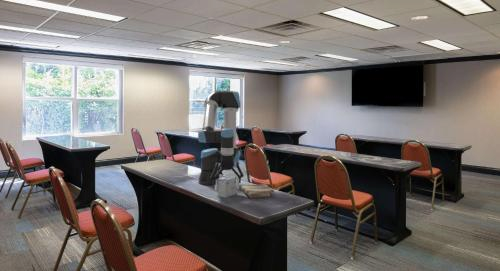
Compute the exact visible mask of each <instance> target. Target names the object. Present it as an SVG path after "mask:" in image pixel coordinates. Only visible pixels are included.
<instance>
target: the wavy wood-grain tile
mask: <svg viewBox="0 0 500 271" xmlns="http://www.w3.org/2000/svg"><path fill="white" fill-rule="evenodd" d="M240 188H241V190H243V191H244V193H245V194H246V195H247V196H248V197H249V198H250V199H253V198H255V199H257V198H267V197H271V193H275V189H273V188H272V187H270V186H268V184H266V183H261V184H260V183H259V184H247V185H240Z"/></svg>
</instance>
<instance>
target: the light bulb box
mask: <svg viewBox="0 0 500 271" xmlns="http://www.w3.org/2000/svg"><path fill="white" fill-rule="evenodd" d="M236 194H237V176H234V175H225V176H223V177H220V178H218V184H217V196H218V197H220V198H228V197H232V196H235V195H236Z"/></svg>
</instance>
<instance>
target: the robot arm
mask: <svg viewBox="0 0 500 271" xmlns="http://www.w3.org/2000/svg"><path fill="white" fill-rule="evenodd" d="M240 97H241V96H240V93H239V92H238V91H233V90H226V91H225V90H216V91H214V92H211V93H210V94H209V95H208V96H207V97H206V98H205V100H204V104H203V107H204V117H203V122H202V130H201V129H200V130H198V132H197V133H198V134H197V140H198V142H199V143H217V144H218V143H220V150H219V149H218V147H217V148H215V147H213V148H207V149H203V150H202V151H201V152H200V174H199V177H198V182H197V183H198V184H200V185H206V186H211V185H213V186H214V191H215V192H216V191H217V192H218V178H221V177H220V176H221V174H222V173H223V171H232V172H233V173H234V174H235V175H236V190H240V184H242V182H241V181H242V180H241V179H242V178H244V177H245V176H244V174H243V171H242V170H241V166H240V165H239V164H240V163H239V161H240V156H241V151H240V150H239V148H238V147H237V112H238V111H239V109H240V108H241V99H240ZM218 108H220V109H221V110H222V112H223V128H221V130H215V126H216V118H217V110H218ZM235 168H237V171H238V172H237V171H236V169H235Z"/></svg>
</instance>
